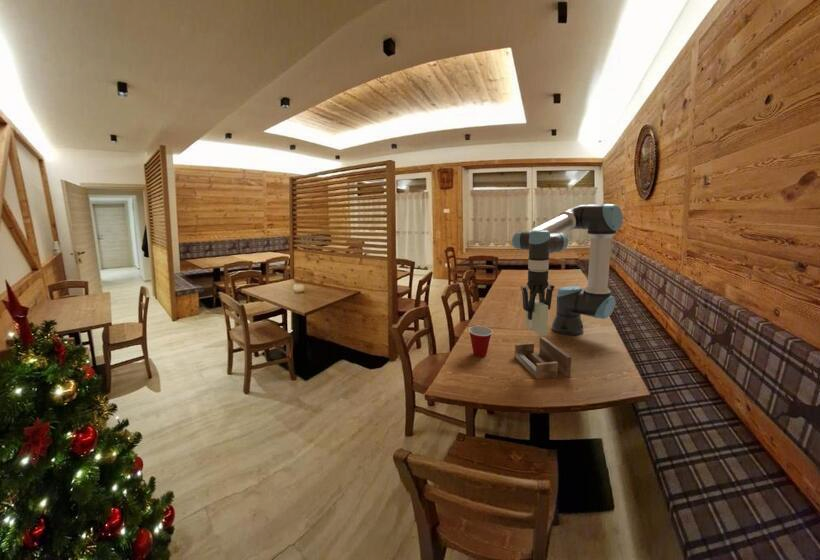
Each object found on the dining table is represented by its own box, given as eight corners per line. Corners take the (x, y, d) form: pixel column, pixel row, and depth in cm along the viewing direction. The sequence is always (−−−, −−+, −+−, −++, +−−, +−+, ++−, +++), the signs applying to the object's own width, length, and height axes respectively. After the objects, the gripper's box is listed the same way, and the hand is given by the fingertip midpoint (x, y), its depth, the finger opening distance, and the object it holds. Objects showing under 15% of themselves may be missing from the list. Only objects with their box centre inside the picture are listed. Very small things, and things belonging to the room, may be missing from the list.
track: (542, 353, 156) (543, 336, 154) (570, 376, 135) (571, 357, 133) (514, 356, 155) (514, 339, 153) (537, 379, 134) (538, 360, 132)
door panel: (532, 325, 147) (533, 297, 145) (546, 335, 135) (548, 305, 133) (525, 325, 147) (526, 298, 144) (539, 335, 135) (540, 306, 133)
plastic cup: (486, 361, 151) (486, 335, 148) (464, 356, 157) (464, 331, 154) (496, 352, 159) (496, 328, 156) (474, 347, 165) (474, 324, 163)
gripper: (552, 267, 140) (549, 322, 145) (514, 269, 138) (513, 325, 143) (562, 270, 133) (559, 328, 138) (522, 273, 131) (521, 331, 136)
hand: (535, 326), depth 141 cm, fingers closed on door panel, 3 cm apart
